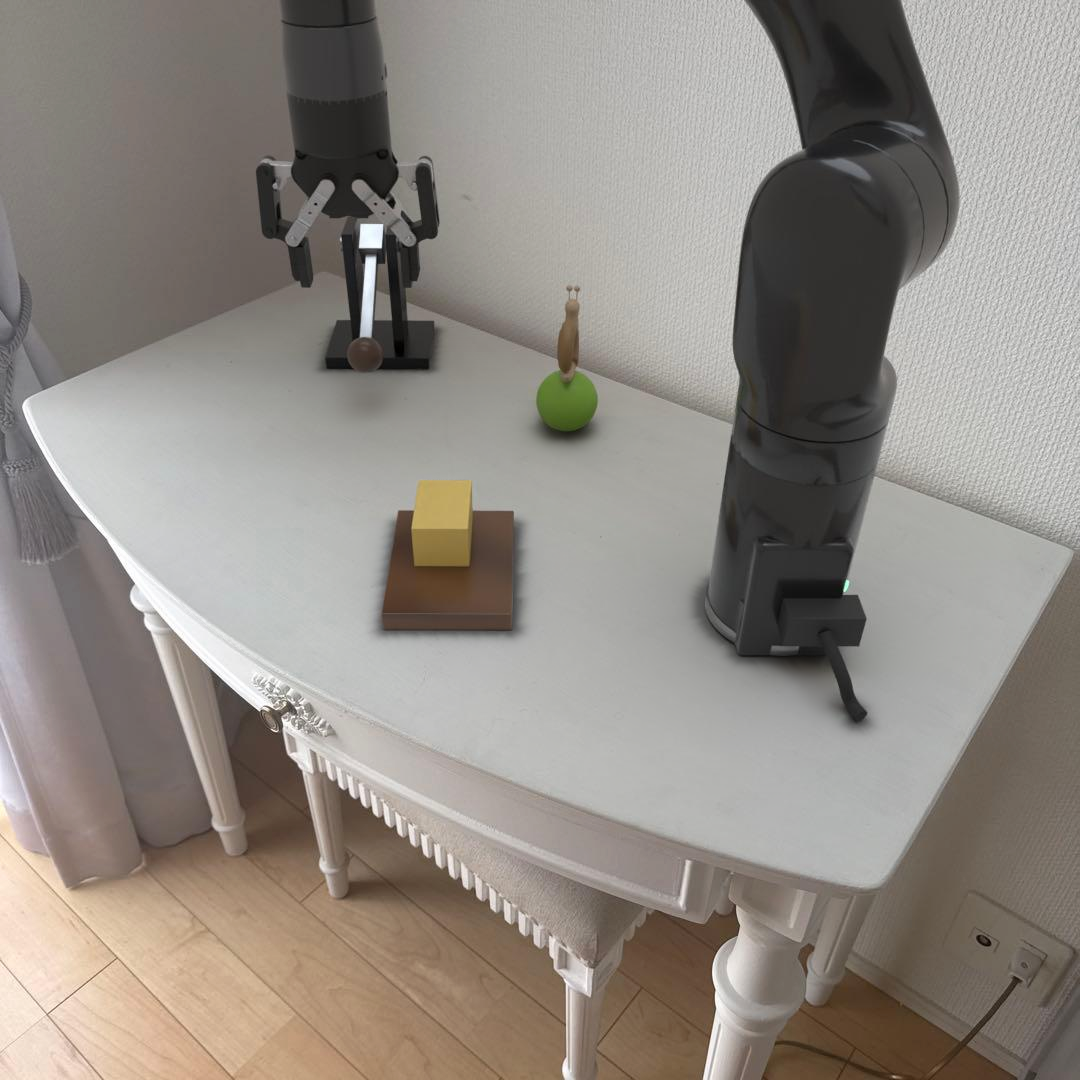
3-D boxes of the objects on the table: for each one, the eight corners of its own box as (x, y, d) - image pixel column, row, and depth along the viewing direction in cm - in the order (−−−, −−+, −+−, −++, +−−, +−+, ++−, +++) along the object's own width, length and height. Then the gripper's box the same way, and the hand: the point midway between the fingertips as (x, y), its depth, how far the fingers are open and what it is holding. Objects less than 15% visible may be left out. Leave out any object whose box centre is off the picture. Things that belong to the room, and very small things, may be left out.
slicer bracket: (429, 369, 102) (421, 242, 94) (326, 368, 102) (310, 242, 94) (434, 331, 108) (428, 209, 100) (338, 330, 108) (323, 208, 100)
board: (512, 630, 73) (512, 614, 72) (382, 629, 73) (381, 613, 72) (513, 525, 82) (513, 510, 82) (399, 525, 82) (398, 509, 81)
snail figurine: (598, 407, 97) (605, 285, 89) (594, 444, 92) (601, 319, 84) (540, 403, 97) (542, 282, 90) (532, 440, 92) (534, 315, 85)
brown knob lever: (384, 379, 95) (379, 361, 92) (348, 379, 95) (343, 360, 92) (392, 242, 100) (388, 220, 97) (359, 242, 100) (354, 220, 97)
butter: (469, 566, 76) (467, 528, 74) (414, 566, 76) (411, 528, 74) (472, 517, 81) (471, 480, 79) (421, 516, 81) (418, 479, 79)
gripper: (230, 96, 76) (265, 303, 86) (426, 96, 76) (439, 303, 86) (251, 69, 82) (282, 266, 92) (433, 69, 82) (444, 266, 92)
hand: (358, 284), depth 89 cm, fingers open, 8 cm apart
